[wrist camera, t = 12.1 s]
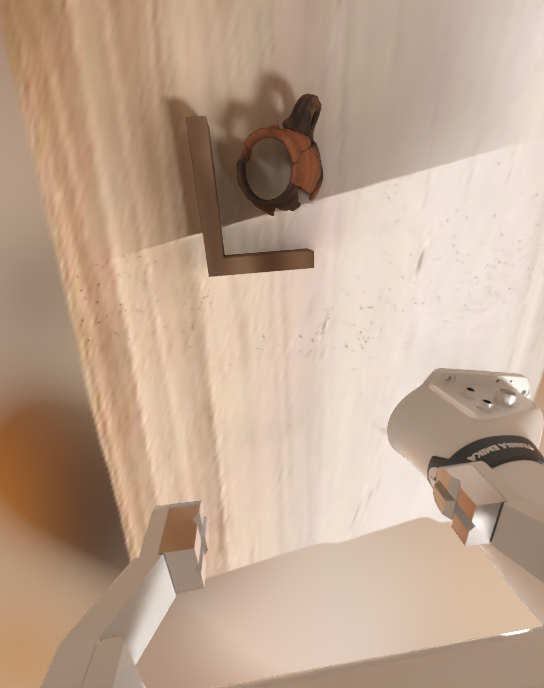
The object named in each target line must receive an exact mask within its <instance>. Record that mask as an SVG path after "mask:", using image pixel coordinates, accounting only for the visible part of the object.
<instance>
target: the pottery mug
mask: <svg viewBox="0 0 544 688" xmlns="http://www.w3.org/2000/svg"><path fill="white" fill-rule="evenodd" d="M320 111H321V103H320V101H319V99H318V97H317V96H315V95H312V94H306V95H303V96H301V97H300V98H299V100H298V101H297V103H296V105H295V106H294V109H293V111H292V113H291V115H290V117H289V118H288V119H286V120H284V122H283V126H284V128H285V129H279V125H274V126H270V127H268V128H261V129H258V130H257V131H255V132H253V133H252V134H250V135H249V137H248V138H247V139H246V140H245V142H244V146H245V148H244V150H243V153H242V157H241V159H239V160H238V161H237V177H238V182H239V185H240V187H241V189H242V191H243V193H244V194H245V196H246V197H247V199H248V200H250V201H251V202H252V204H253V205H254V206H255V207H257V208H259V209H260V210H262V211H264V212H265V213H267V214H269V215H271V216H274V211H275V208H276V207H277V208H279V209H280V210H283V211H287V210H290V211H295V210H296V209H297V208H299V207H300V205H301V204H300V203H299V202H298V193H297V187H299V188H301V189H303V190H305V191H306V192H307V193H311V192H313V193H312V194H311V196H310V197H309V199H310V200H311V201H312V200H313V199H314V198H315V197H316V196H317V194H318V192H319V189H320V187H321V184H322V181H323V170H322V164H321V159H320V153H319V150H318V147H317V144H316V143H315V141H314V140H313V132H314V128H315V125H316V123H317V120H318V117H319V114H320ZM264 138H275V139H278V140H279V141H281V142H282V143H283V144H284V145H285V147H286V148H287V150H288V152H289V155H290V158H291V163H292V172H291V178H290V181H289V185H288V186H287V188H286V190H285V191H284V192H283V193H282V194H281V195H280V196H278V197H277V198H275V199H272V200H264V199H261V198H259V197H258V196H256V195H255V194H254V193H253V192H252V190H251V188H250V186H249V184H248V181H247V178H246V163H247V162H248V161H249V159H250V154H251V149H252V147H253V146H254V145H255V144H256V143H257V142H258V141H260V140H262V139H264Z"/></svg>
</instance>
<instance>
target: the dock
mask: <svg viewBox="0 0 544 688" xmlns="http://www.w3.org/2000/svg"><path fill="white" fill-rule="evenodd" d="M186 121H187V128H188V135H189V142H190V149H191V156H192V163H193V169H194V176H195V183H196V190H197V197H198V204H199V211H200V218H201V225H202V232H203V238H204V245H205V252H206V259H207V266H208V273H209V277H211V276H223V275H235V274H247V273H258V272H270V271H282V270H294V269H306V268H314V251H312V250H310V249H307V248H306V249H294V250H281V251H269V252H256V253H244V254H231V255H225V253H224V245H223V237H222V228H221V220H220V212H219V204H218V196H217V187H216V179H215V171H214V163H213V155H212V146H211V138H210V130H209V125H208V122H207V118H206V116H200V117H186Z"/></svg>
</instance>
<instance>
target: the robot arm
mask: <svg viewBox="0 0 544 688" xmlns="http://www.w3.org/2000/svg"><path fill="white" fill-rule="evenodd" d="M447 377H448V378H447ZM446 378H447V379H446ZM542 432H543V415H542V412H541V410H540V409H539V407H538V406H537V405H536V404H535V403H534V402H532V401H531V400H530V386H529V383H528V380H527V378H526V377H524V376H523V375H521V374H515V373H502V372H488V371H474V370H460V369H446V368H439V369H436V370H434V371H433V372H432V373H431V374H430V375H429V377H428V378H427V379H426V380H425V382H424V383H423V384H422V385H421V386H420V387H418V388H417V389H415V390H414V391H412V392H411V393H410V394H408V395H407V396H406V397H405V398H404V399H403V400H402V401H401V402H400V403H399V404H398V405H397V406H396V408H395V409H394V411H393V413H392V414H391V417H390V419H389V422H388V427H387V435H388V440H389V442H390V444H391V446H392V447H393V449H394V450H395V451H397V452H398V453H399V454H401V455H402V456H403V457H405V458H406V459H407V460H408V461H409V462H410V463H411V464H413V465H414V466H415V467H416V468H417V469H418V470H419V471H420V472H421V473H422V474H423V475H424V476H425V478H426V479H427V480H428V481H429V483H430V484H431V486H432V488H433V495H434V499H435V502H436V504H437V506H438V508H439V510H440V511H441V513H442V514H443V515H445V516H446V517H448V518H449V519H451V527H452V528H453V530H454V531H455V532H456V534H457V535H458V537H459V538H460V539H461V541H462V542H463V544H464V545H465V546H471V545H479V546H480V547H481V549H482V550H483V551H484V553H485V554H486V555H487V557H488V558H489V559H490V561H491V562H492V563H493V565H494V566H495V567H496V569H497V570H498V571H499V572H500V574H501V575H502V577H503V578H504V579H505V580H506V582H507V583H508V585H509V586H510V587H511V588H512V590H513V591H514V592H515V594H516V595H517V597H518V598H519V599H520V600H521V601H522V602H523V604H524V605H525V606H526V607H528V608H529V609H530V611H531V612H532V613H533V614H534V615H535V616H536V617H537V618H538V619H539V621H540V622H541V623H542V624H543V625H544V457H543V456H542V455H541V453H540V452H539V450H538V449H539V444H540V440H541V436H542ZM204 511H205V507H204V503H203V501H195V502H186V503H177V504H170V505H161V506H156V507H155V508H154V510H153V512H152V515H151V518H150V522H149V525H148V529H147V532H146V535H145V539H144V542H143V546H142V549H141V552H140V556H139V558H135V559H133V560H132V561H131V563H130V564H129V565H128V566H127V567H126V568H125V569H124V571H123V572H122V573H121V574H120V575H119V576H118V577H117V579H116V580H115V581H114V582H113V583H112V585H111V586H110V587H109V588H108V589H107V590H106V591H105V593H103V595H102V596H101V597H100V598H99V599H98V600H97V601H96V603H95V604H94V605H93V606H92V607H91V608H90V610H89V611H88V612H87V613H86V614H85V615H84V616H83V618H82V619H81V620H80V621H79V622H78V623H77V625H76V626H75V627H74V628H73V629H72V630H71V631H70V633H69V634H68V635H67V636H66V637H65V638H64V639H63V641H62V642H61V643H60V644H59V646H58V648H57V650H56V653H55V655H54V657H53V660H52V662H51V664H50V667H49V669H48V672H47V674H46V676H45V679H44V681H43V683H42V686H41V688H146V687H145V685H144V683H143V681H142V679H141V676H140V674H139V672H138V670H137V668H136V666H135V665H136V663H137V662H138V660H139V658H140V656H141V655H142V653H143V651H144V650H145V648H146V646H147V645H148V643H149V641H150V639H151V638H152V636H153V634H154V633H155V631H156V629H157V628H158V626H159V624H160V622H161V621H162V619H163V617H164V616H165V614H166V612H167V610H168V609H169V607H170V605H171V604H172V602H173V600H174V599H175V597H176V594H177V593H183V592H187V591H193V590H198V589H203V588H204V587H205V577H206V566H207V564H206V560H205V554H206V552H207V551H208V543H209V529H208V521H207V518H206V517H205V516H204ZM212 688H544V626H541V627H536V628H530V629H525V630H520V631H514V632H509V633H503V634H498V635H493V636H487V637H482V638H476V639H471V640H466V641H460V642H455V643H449V644H444V645H438V646H433V647H428V648H422V649H417V650H412V651H406V652H401V653H395V654H390V655H385V656H379V657H374V658H368V659H363V660H357V661H352V662H347V663H342V664H336V665H330V666H325V667H320V668H314V669H309V670H304V671H298V672H293V673H287V674H282V675H277V676H271V677H267V678H261V679H255V680H250V681H244V682H239V683H234V684H228V685H223V686H218V687H212Z"/></svg>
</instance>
